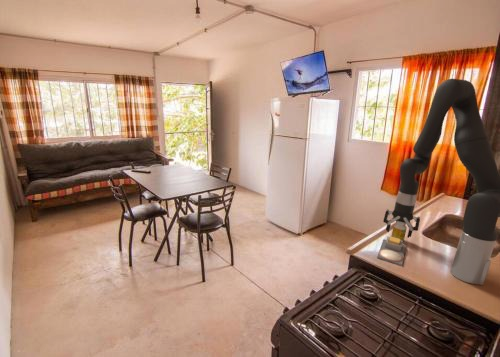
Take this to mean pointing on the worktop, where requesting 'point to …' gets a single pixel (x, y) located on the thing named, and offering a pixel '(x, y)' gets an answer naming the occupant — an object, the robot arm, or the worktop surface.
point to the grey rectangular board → (392, 252)
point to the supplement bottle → (399, 230)
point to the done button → (394, 240)
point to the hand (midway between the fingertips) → (398, 234)
